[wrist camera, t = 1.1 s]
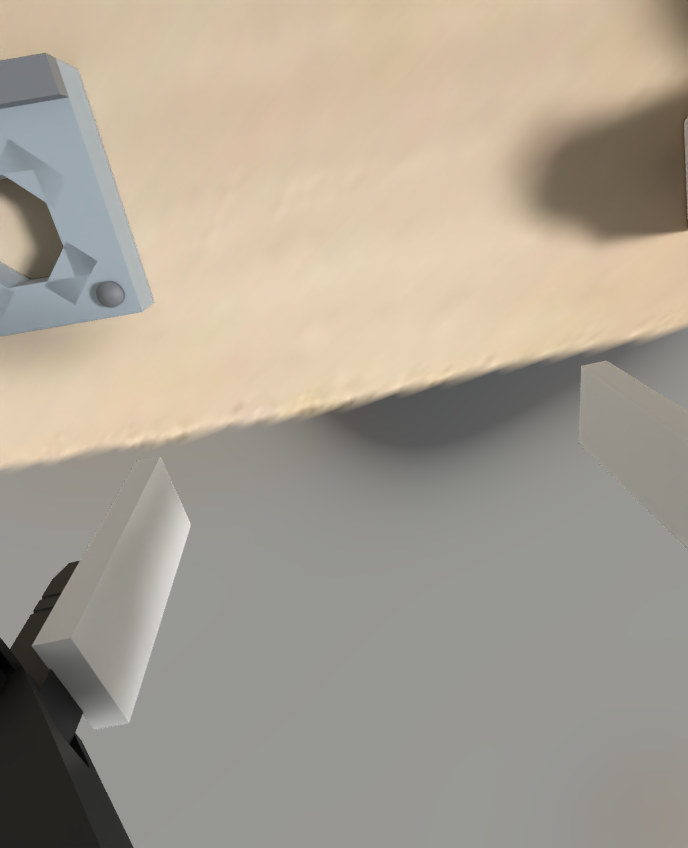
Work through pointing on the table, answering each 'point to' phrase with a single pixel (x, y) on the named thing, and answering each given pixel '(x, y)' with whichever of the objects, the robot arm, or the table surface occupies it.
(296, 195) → the table surface
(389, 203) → the table surface
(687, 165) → the container
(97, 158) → the jig
